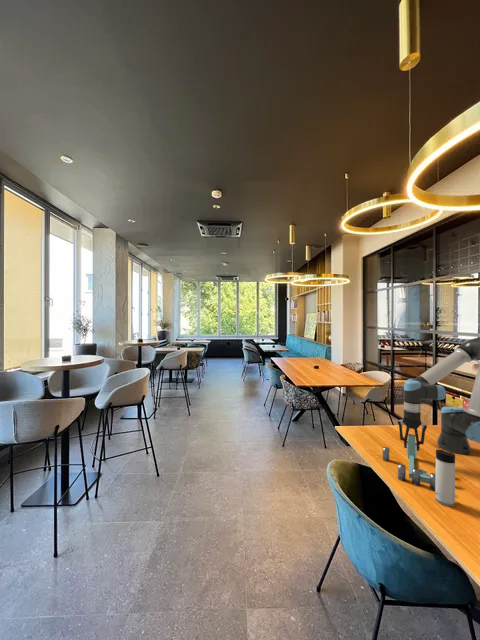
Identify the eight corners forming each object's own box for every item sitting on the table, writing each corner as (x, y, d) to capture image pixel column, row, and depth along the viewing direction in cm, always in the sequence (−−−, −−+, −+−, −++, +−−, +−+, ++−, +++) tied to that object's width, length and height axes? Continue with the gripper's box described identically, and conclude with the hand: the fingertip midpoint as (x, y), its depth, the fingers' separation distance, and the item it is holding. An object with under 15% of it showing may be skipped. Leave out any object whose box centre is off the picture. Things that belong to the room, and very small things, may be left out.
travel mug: (433, 501, 110) (434, 451, 110) (437, 494, 114) (437, 446, 114) (453, 509, 105) (453, 456, 105) (456, 501, 110) (456, 451, 110)
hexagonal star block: (427, 474, 130) (427, 470, 130) (427, 479, 126) (427, 475, 126) (417, 472, 132) (417, 467, 132) (417, 476, 128) (417, 472, 128)
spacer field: (443, 472, 132) (443, 459, 132) (447, 494, 115) (447, 479, 115) (382, 457, 145) (383, 446, 145) (379, 475, 128) (379, 462, 128)
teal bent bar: (408, 456, 147) (408, 433, 147) (429, 461, 142) (430, 437, 142) (407, 477, 127) (407, 451, 127) (432, 484, 122) (433, 456, 122)
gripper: (394, 409, 146) (393, 454, 146) (431, 415, 138) (430, 462, 138) (394, 406, 153) (394, 448, 153) (430, 411, 144) (429, 456, 144)
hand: (411, 455), depth 145 cm, fingers closed on teal bent bar, 3 cm apart
